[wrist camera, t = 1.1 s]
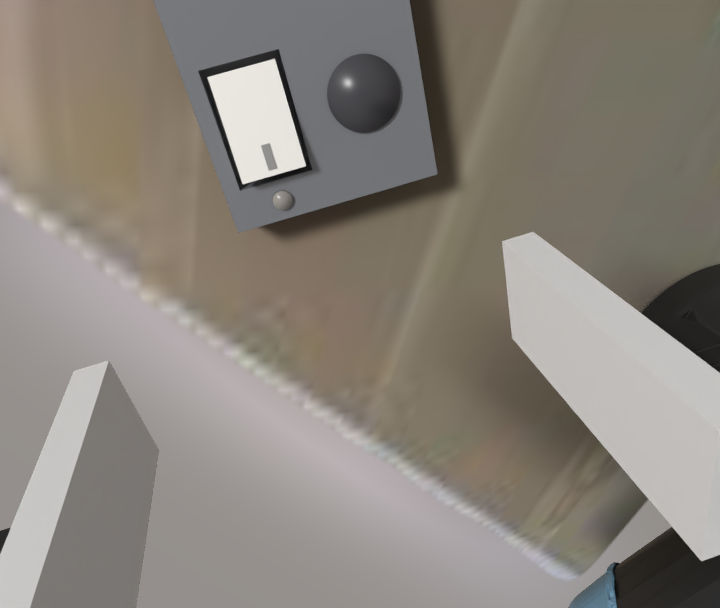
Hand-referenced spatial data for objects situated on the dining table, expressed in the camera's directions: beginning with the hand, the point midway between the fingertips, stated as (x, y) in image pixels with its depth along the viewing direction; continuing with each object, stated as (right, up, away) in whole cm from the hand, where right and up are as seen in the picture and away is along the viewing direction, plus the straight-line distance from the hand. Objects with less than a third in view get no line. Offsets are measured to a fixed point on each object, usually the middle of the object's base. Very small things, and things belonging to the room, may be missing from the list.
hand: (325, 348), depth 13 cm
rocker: (-4, +10, +14) cm, 18 cm away
